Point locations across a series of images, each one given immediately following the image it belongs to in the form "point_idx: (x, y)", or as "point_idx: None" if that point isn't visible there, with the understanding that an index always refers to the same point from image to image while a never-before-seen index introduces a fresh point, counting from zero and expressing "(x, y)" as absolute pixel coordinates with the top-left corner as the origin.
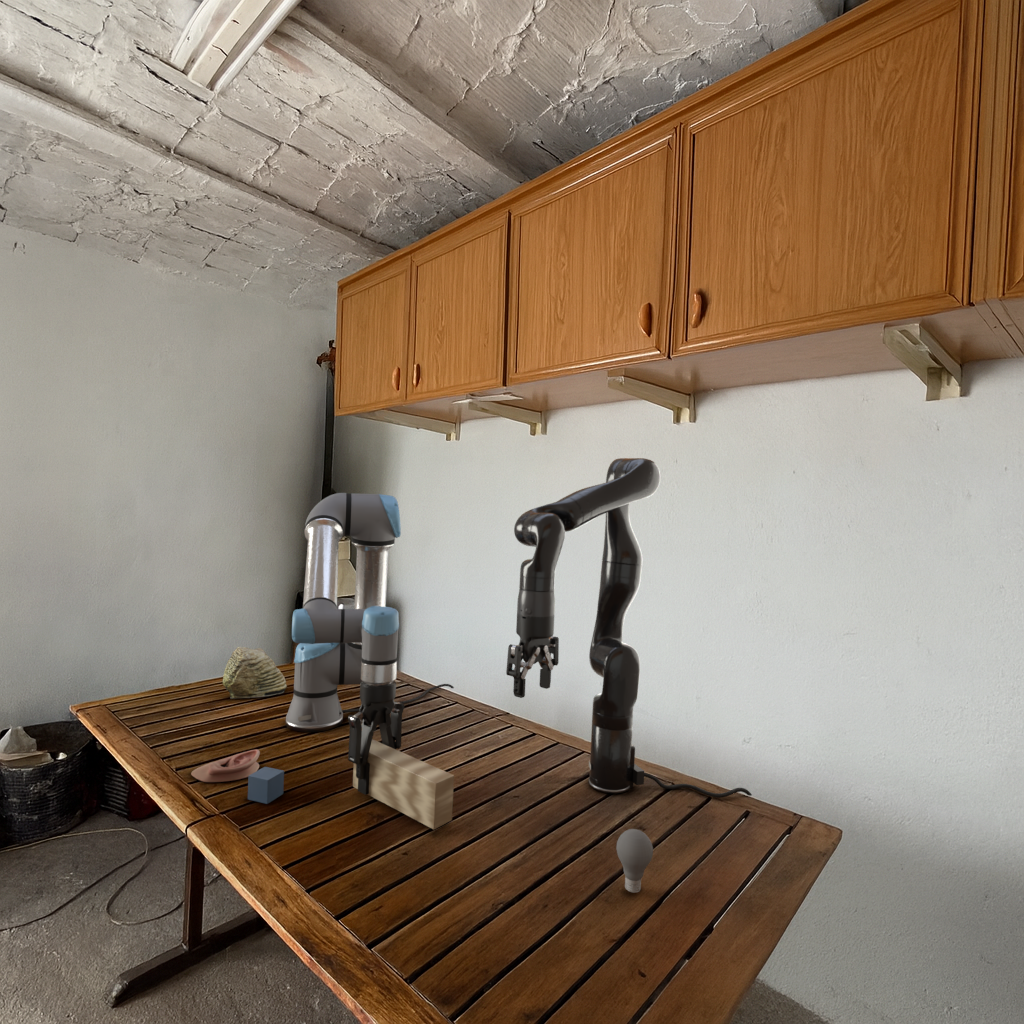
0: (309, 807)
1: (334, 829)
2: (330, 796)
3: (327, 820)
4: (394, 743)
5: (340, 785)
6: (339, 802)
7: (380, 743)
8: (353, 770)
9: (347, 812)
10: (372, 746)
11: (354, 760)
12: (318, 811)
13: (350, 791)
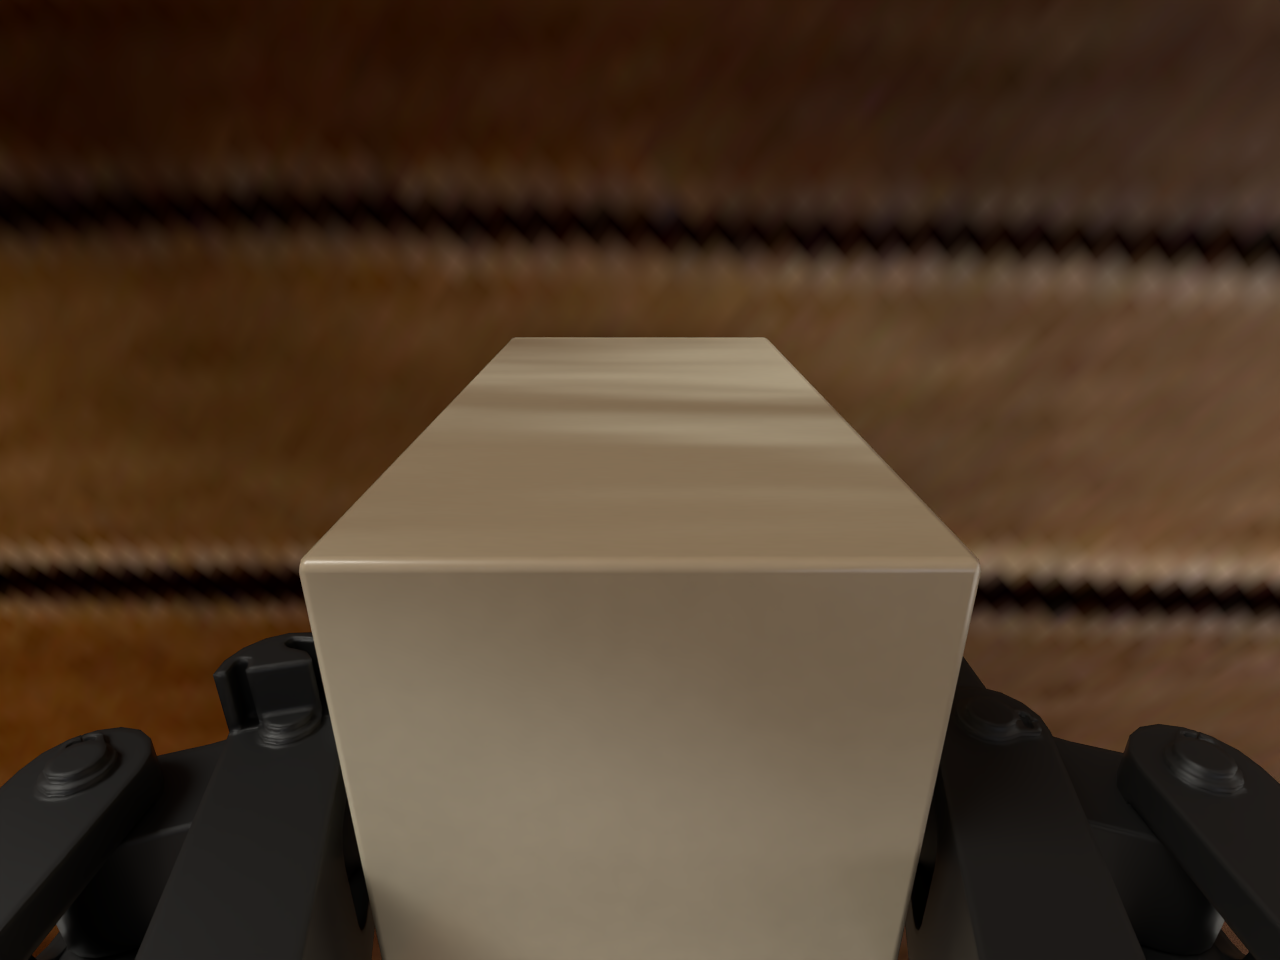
0: (28, 291)
1: (98, 713)
2: (299, 242)
3: (98, 587)
4: (1140, 911)
5: (515, 87)
6: (315, 411)
7: (886, 863)
8: (470, 383)
9: (289, 593)
10: (631, 870)
11: (63, 940)
12: (81, 417)
13: (516, 299)
